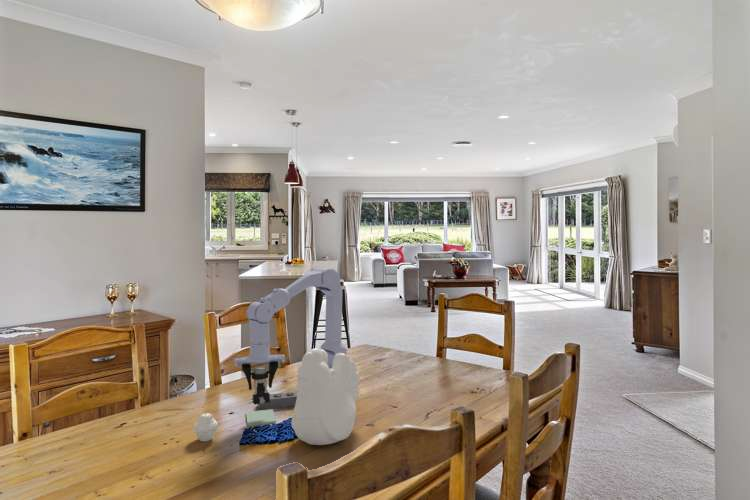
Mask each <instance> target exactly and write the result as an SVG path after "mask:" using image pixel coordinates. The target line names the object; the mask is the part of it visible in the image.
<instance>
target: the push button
mask: <svg viewBox="0 0 750 500" xmlns="http://www.w3.org/2000/svg"><path fill="white" fill-rule="evenodd" d="M267 379H269V370H267V368H266V367H256V368H254V369H253V371H251V380H253V381H254V382H253V384H254V385H253V386H254V387H253V388H254V391H253V394H252V398H248V399H247V404H253V405H258V404H262V403H269V402H270V394H271V393H269V390H268V385H267V383H268V382H267ZM248 401H249V402H248Z"/></svg>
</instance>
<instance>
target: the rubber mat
mask: <svg viewBox="0 0 750 500" xmlns="http://www.w3.org/2000/svg"><path fill="white" fill-rule="evenodd" d="M245 415H246V424H247V427H254V426H261V425H262V426H263V425H270V424H277V420H276V417H275V412H274V408H273V409H265V410H259V409H258V410H251V411H246V412H245Z"/></svg>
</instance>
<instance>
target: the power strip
mask: <svg viewBox="0 0 750 500" xmlns="http://www.w3.org/2000/svg"><path fill="white" fill-rule="evenodd" d="M297 391H298V390H297ZM297 391H288V392H279V393H269V394H270V402H269V403H262V404H257V407H258V411H259V410H268V409H273V410H274V409H280V408H289V407H295V404H296V399H297Z"/></svg>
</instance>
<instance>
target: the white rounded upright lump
mask: <svg viewBox="0 0 750 500" xmlns="http://www.w3.org/2000/svg"><path fill="white" fill-rule="evenodd" d="M327 361H328V354H327V352H326V351H325V350H323V349H321V348H318V347H315V348H311V349H310V350H308V352H306V353H304V355H303V356H302V359H301V364H299V367H298V370H297V375H296V379H297V399H296V404H295V406H294V408H293V414H292V418H291V428H292V429H293V430H294V434H295V436H296V437H297V438H298V439H299V440H301V441H303V442H305V443H306V444H308V445H311V446H312V445H313V446H314V445H315V446H316V445H317V446H325V445H331V444H334V443H339V442H340V441H343V440H345V439H347V438H349V437H350V435H351V433H352V430H353V428H354V426H355V421H356V412H357V407H356V402H357V400H358V397H359V392H360V388H359V385H360V374H359V373H358V368H357V365H356V362H355V361H354V360H352V359H351V357H350V356H349V355H348V354H347V355H346V354H343V353H338V354H336V355H335V356H334V359H333V364H332V368H330V369H329V367H328V365H327Z"/></svg>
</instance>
